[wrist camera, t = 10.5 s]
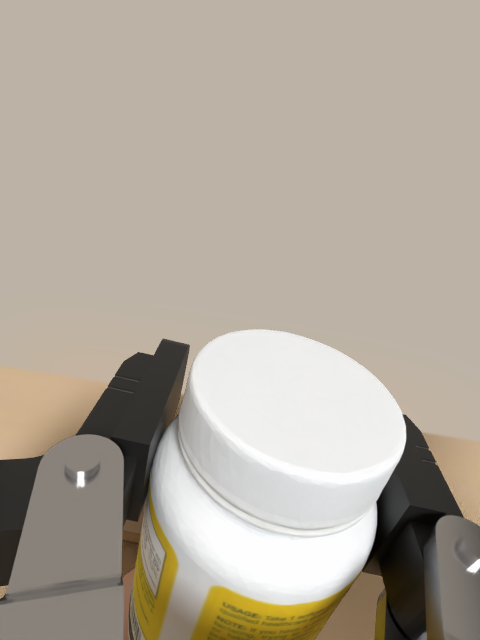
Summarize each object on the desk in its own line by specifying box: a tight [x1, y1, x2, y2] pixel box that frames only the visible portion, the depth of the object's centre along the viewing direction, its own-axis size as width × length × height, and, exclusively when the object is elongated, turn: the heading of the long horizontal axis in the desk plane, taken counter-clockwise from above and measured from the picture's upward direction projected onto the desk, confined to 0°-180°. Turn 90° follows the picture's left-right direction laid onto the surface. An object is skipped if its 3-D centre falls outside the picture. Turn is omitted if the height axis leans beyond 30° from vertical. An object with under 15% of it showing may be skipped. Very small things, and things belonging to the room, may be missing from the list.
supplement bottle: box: [128, 329, 406, 640], centre depth 8 cm, size 5×5×8 cm
